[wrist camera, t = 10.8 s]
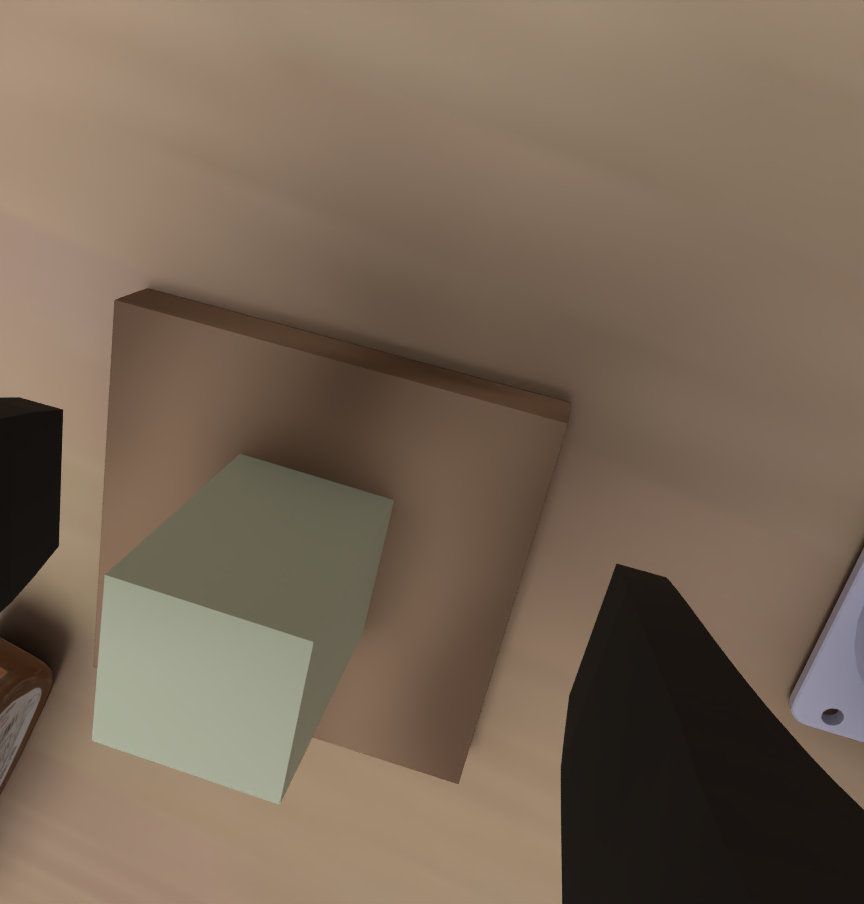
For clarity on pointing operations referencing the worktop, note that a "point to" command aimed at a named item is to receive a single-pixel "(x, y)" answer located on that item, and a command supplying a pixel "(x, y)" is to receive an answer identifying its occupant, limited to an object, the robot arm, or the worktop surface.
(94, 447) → the worktop surface
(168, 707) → the block
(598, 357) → the worktop surface
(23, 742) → the tin
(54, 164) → the worktop surface
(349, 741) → the base
